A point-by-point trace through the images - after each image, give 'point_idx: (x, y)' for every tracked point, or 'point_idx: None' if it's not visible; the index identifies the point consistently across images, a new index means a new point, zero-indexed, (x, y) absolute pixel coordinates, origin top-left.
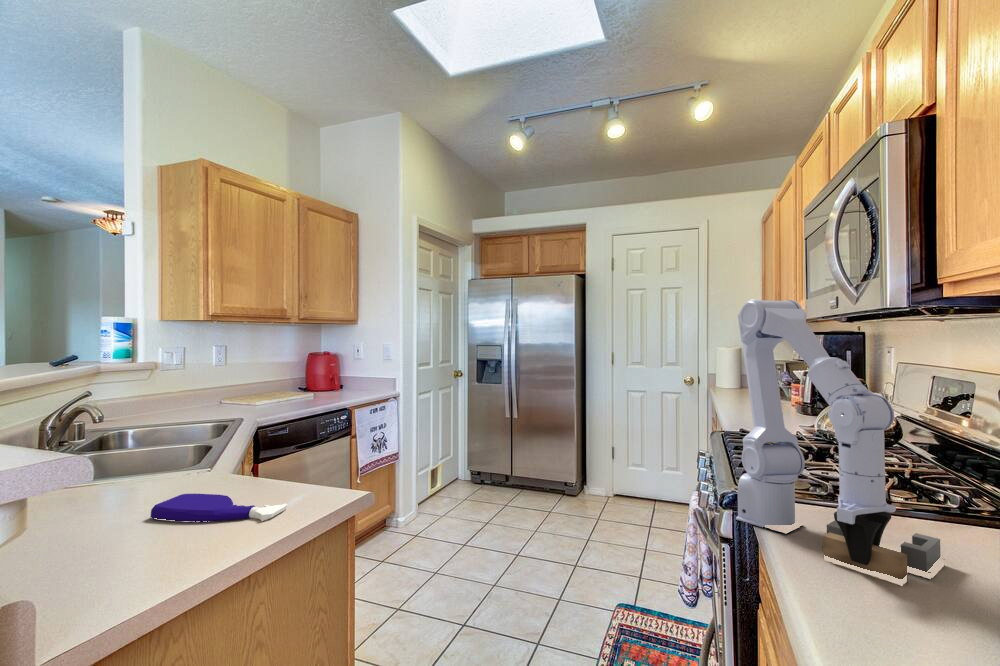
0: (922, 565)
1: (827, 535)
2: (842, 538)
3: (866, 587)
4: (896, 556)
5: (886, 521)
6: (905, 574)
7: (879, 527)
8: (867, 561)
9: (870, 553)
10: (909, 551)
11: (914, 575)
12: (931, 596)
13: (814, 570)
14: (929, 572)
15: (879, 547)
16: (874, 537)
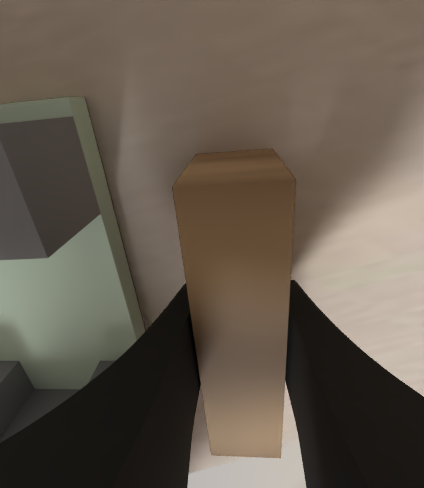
0: (64, 136)
1: (261, 452)
2: (239, 418)
3: (405, 224)
4: (282, 210)
5: (114, 480)
6: (220, 159)
7: (152, 423)
8: (300, 289)
9: (302, 307)
10: (47, 208)
11: (103, 159)
12: (279, 24)
13: (381, 356)
14: (64, 106)
15: (207, 307)
16: (176, 364)
